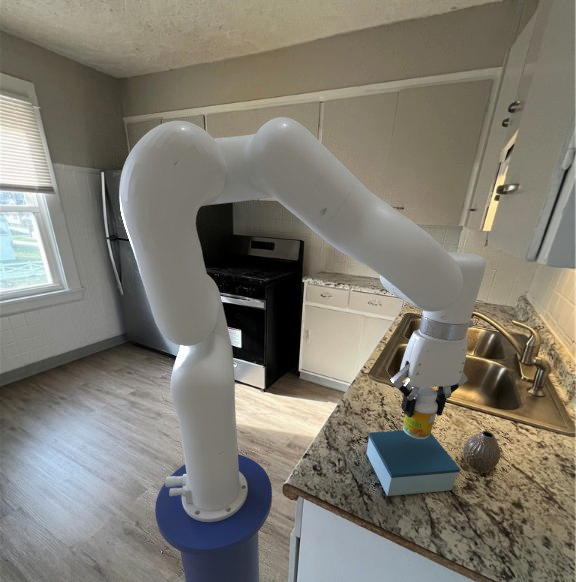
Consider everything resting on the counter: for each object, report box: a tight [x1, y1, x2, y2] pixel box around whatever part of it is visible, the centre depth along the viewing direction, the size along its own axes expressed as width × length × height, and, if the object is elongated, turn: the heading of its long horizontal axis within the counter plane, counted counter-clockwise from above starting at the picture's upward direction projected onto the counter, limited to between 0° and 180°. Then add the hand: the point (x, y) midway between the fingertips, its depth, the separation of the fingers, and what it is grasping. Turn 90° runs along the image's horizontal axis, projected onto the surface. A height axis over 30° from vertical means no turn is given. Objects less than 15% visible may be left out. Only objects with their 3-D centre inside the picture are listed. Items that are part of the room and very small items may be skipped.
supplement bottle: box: [402, 387, 438, 439], centre depth 62 cm, size 5×5×10 cm
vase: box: [462, 430, 501, 472], centre depth 69 cm, size 7×7×9 cm
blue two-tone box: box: [366, 429, 462, 497], centre depth 68 cm, size 14×12×6 cm
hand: (421, 411), depth 62 cm, fingers closed on supplement bottle, 5 cm apart
